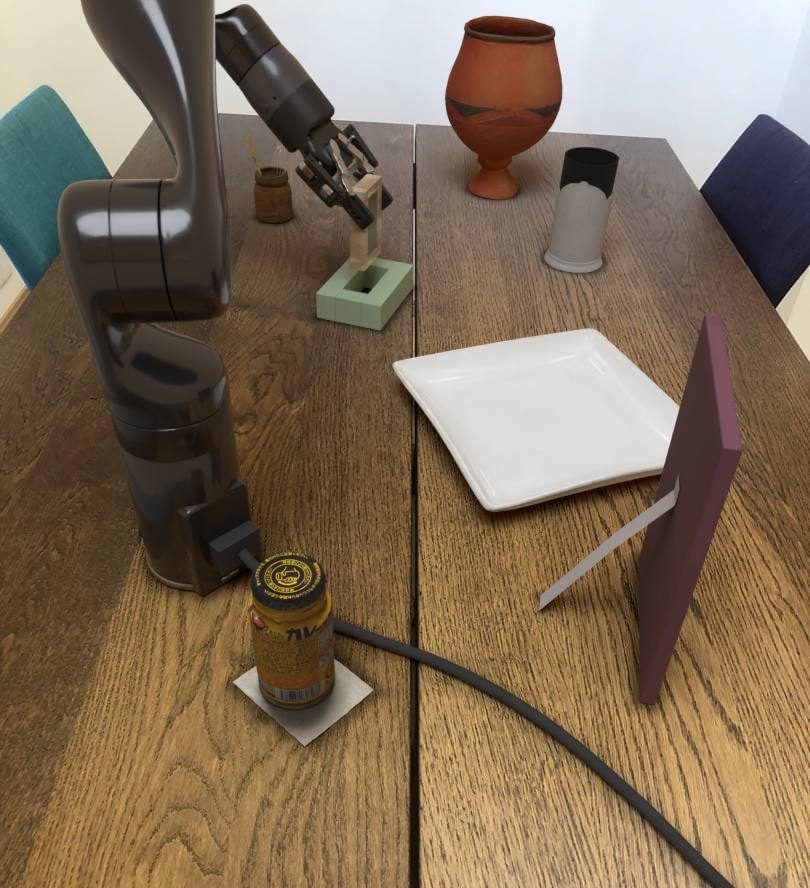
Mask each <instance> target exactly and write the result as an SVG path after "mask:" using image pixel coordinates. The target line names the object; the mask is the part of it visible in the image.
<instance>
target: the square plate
mask: <svg viewBox="0 0 810 888" xmlns="http://www.w3.org/2000/svg"><path fill="white" fill-rule="evenodd" d="M391 367H392V369H393V371H394V373H395V375H396V376H397V378H398V379H399V380H400V382H401V383H402V385H403V386H404V388H405V389H406V390H407V391H408V393H409V394H410V395H411V397H412V398H413V399H414V400H415V402H416V403H417V405H418V406H419V408H420V409H421V410H422V411H423V413H424V415H426V417H427V418H428V420H429V421H430V423H431V424H432V426H433V428H434V429H435V430H436V433H438V435H439V437H440V438H441V440H442V441H443V443H444V445H445V446H446V448H447V449H448V451H449V453H450V454H451V457H452V458H453V460H454V462H455V463H456V465H457V467H458V469H459V471H460V472H461V475H462V476H463V478H464V479H465V480H466V483H467V484H468V486H469V488H470V490H472V492H473V494H474V495H475V497H476V499H477V500H478V502H479V503H480V505H481V506H482V508H484V509H485V510H486V511H489V512H492V513H493V512H494V513H496V512H497V513H498V512H503V511H504V512H505V511H510V510H517V509H521V508H525V507H529V506H534V505H538V504H541V503H544V502H547V501H552V500H554V499H555V500H556V499H558V498H562V497H566V496H570V495H574V494H577V493H578V494H579V493H583V492H585V491H590V490H594V489H598V488H601V487H605V486H610V485H614V484H619V483H623V482H629V481H632V480H638V479H641V478H647V477H653V476H657V475H662V471H663V467H664V463H665V460H666V456H667V452H668V449H669V445H670V441H671V438H672V434H673V430H674V426H675V423H676V419H677V415H678V412H679V408H680V405H679V404H677V403H676V402H675V401H674V400H673V399H672V398H671V397H670V396H669V395H668V394H667V393H666V392H664V391H663V389H661V387H659V386H658V384H656V383H655V382H654V381H653V379H651V378H650V377H649V376H648V375H647V374H645V372H644V371H642V369H641V368H639V366H637V365H636V364H635V363H634V362H633V361H632V360H631V359H630V358H628V357H627V356H626V355H625V354H624V353H623V352H622V351H621V350H619V348H618V347H616V346H615V345H614V344H613V343H612V342H611V341H610V340H609V339H608V338H607V337H605V336H604V335H603V334H602V333H601V332H600V331H599V330H597V329H595V328H590V327H589V328H581V329H575V330H573V329H572V330H567V331H566V330H565V331H561V332H559V331H558V332H553V333H547V334H540V335H532V336H526V337H521V338H516V339H515V338H514V339H508V340H503V341H502V340H501V341H497V342H490V343H485V344H480V345H474V346H468V347H462V348H458V349H451V350H447V351H441V352H436V353H431V354H425V355H420V356H415V357H410V358H405V359H401V360H397V361H394V362H393V363H392V365H391Z"/></svg>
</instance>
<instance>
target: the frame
mask: <svg viewBox="0 0 810 888" xmlns="http://www.w3.org/2000/svg"><path fill="white" fill-rule="evenodd" d="M382 184H383V176H382V175H378V174H376V175H373V174H366V175H365V176H364V177H363V178H362V179H361V180H360V181H359V182H358V183H357V182H356V184H355V185H353V186H352V188H353V191H354V195H356V194H357V196H358V197H359V198H360V199H361V201H362V202H363V203H364V204H365V205H366V207H367V208H368V209H369V210H370V212H371V213H372V214H373V215H374V217H375V220H374V221H373V222H372V223H371V224H370V225H369V226H368V227H367V228H366V229H364V230H362V229H360V228H359V226H358V225H357V224H356V223H355V222H354V220H353V219H352V218H351V217H350V216H349V242H350V243H349V255H350V256H349V258H350V268H351V269H356V270H361V271H365V270H366V269H367V268H368V267H369V266H370V264H371V263H372V262H373V261H374V260H375V259H376V258H378V257H379V256H380V255H381V254H382V212H383V210H382ZM354 195H353V196H354Z"/></svg>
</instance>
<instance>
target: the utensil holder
mask: <svg viewBox="0 0 810 888" xmlns="http://www.w3.org/2000/svg"><path fill="white" fill-rule="evenodd" d="M245 139H246V143H247V145H248V149H249V152H250V156H251V159H253V160H254V163H255V167H256V170H255V172H254V181H255V183H254V186H253V199H254V210H255V215H256V218H257V219H258V220H259V221H261V222H264V223H268V224H280V223H285V222H288V221H289V220H291V219H292V217H293V212H294V211H293V210H294V208H293V192H292V187H291V184H290V183H289V178H290V177H289V173H288V170H287V169H288V167H289V163H288V162H286V160H289V159H290V157H289V153H287V155H286V160H284V161H283V159H284V157H281V161H283V163H284V165H286V166H284V167H283V166H282V165H283V164H281V165H280V166H279V164H280V162H277V166H275V162H272V164H273V166H271V165H270V166H263V167H260V165H259V161H258V159H257V157H258V156H257V151H256V148H255V145H254V142H253V140H252V137H251V134H248V135H247V136H246V137H245ZM279 148H280V151H279ZM282 150H283V151H282ZM281 151H282V152H286V148H285V147H284V146H283V145H280V146H276V147H275V148H274V151H273V152H276V155H278V152H281ZM276 155H272V157H273V158H272V160H275V159H276V158H275V157H276ZM280 155H281V154H279V156H278V158H280Z"/></svg>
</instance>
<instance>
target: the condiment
mask: <svg viewBox="0 0 810 888" xmlns="http://www.w3.org/2000/svg"><path fill="white" fill-rule="evenodd" d="M249 583H250V584H249V585H250V590H251V591H250V600H249V604H248V615H249V622H250V623H249V624H250V629H251V639H252V646H253V654H254V660H255V666H253V667H252V668H250V669H249V670H247V671H246V672H245V673H243V674H242V675H239V677H237V678H236V679H234V680H233V682H232V683H233V684H234V685H235V686H237V687H238V688H239V689H240V690H241V691H242V692H243V694H245V695H246V696H247V697H248V698H250V699H251V701H253V702H254V703H255V704H256V705H257V706H258V707H259V708H261V709H262V711H264V712H265V713H266V714H267V715H268V716H269V717H271V718H272V719H274V720H275V721H276V722H277V723H278V725H280V726H281V727H282V728H283V729H284V730H285V731H286V732H287V733H289V734H290V735H291V736H292V737H294V738H295V739H296V740H297V741H298V742H299V743H300V744H301V745H302V746H303V747H306V746H307V745H308V744H310V743H311V742H312V741H313V740H315V739H317V738H318V737H319V736H320V735H321V734H323V733H324V732H325V731H326V730H327V729H328V728H330V727H332V726H334V724H335V723H337V722H338V721H339V720H340V719H341V718H342V717H344V716H346V715H347V714H348V713H349V712H350V711H351V710H352V709H353V708H354V707H356V705H358V704H359V703H360V702H362V701H363V700H364V699H365V698H366V697H367V696H369V695H370V694H371V693H372V692H373V691H374V689H373V688H372V687H371V686H369V685H368V684H367V683H366V682H365V681H363V680H362V679H360V677H359V676H357V675H356V674H355V673H354V672H352V671H351V670H350V669H349V668H348V667H347V666H345V665H344V664H342V663H341V662H340V661H338V660H337V659H336V658H335V649H334V648H335V647H334V644H335V640H334V639H335V635H334V631H333V619H334V614H333V607H334V606H333V600H332V598H331V595H330V592H329V591H328V587H327V575H326V573H325V571H324V568H323V566H322V565H321V564H320V563H319V561H317V560H316V558H313V557H311V556H310V555H308V554H305V553H301V552H296V551H286V552H280V553H276V554H272V555H270V556H268V557H267V558H265V559H264V560H262V561H260V562H259V564H258V566H257V567H256V568H255V570H254V572H252V575H251V577H250V581H249Z"/></svg>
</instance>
